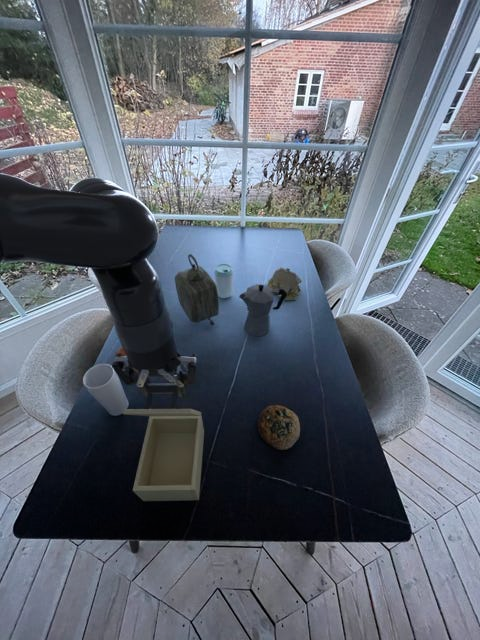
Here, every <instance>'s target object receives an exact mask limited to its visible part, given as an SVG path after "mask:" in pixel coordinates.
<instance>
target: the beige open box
mask: <svg viewBox="0 0 480 640" xmlns="http://www.w3.org/2000/svg"><path fill="white" fill-rule="evenodd" d="M148 417H149V418H148V422H147V426H146V430H145V435H144V439H143V443H142V448H141V452H140V455H139V456H140V457H139V460H138V466H137V469H136V475H135V479H134V484H133V488H132V492H133V493H134V494H135V495H136V496H138V498H139V499H140V500H141V501H143V502H172V501H173V502H175V501H176V502H177V501H200V493H201V492H200V490H201V477H202V467H203V453H204V440H205V428H204V421H203V415H201V416H148Z"/></svg>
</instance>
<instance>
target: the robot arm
mask: <svg viewBox="0 0 480 640" xmlns="http://www.w3.org/2000/svg"><path fill="white" fill-rule="evenodd" d="M159 232H160V231H159V225H158V223H157V220H156V218H155V216H154V214H153V213H152V212H151V211H150V209H149V208H148V207H147V206H146V205H145V204H144V202H142V201H141V200H140V199H138V198H137V197H136V196H134V195H132V194H131V193H129V192H128V191H127V190H125V189H123V188H122V187H121V186H119V185H118V184H116V183H115V182H112V181H110V180H108V179H105V178H100V177H87V178H83V179H81V180H79V181H77V182H76V183H74V184H73V185H72V186H71V188H70V189H69V190H64V189H55V188H48V187H43V186H38V185H36V184H33V183H30V182H29V181H26V180H25V179H23V178H20V177H17V176H15V175H10V174H6V173H3V172H0V264H3V262H4V264H9V263H19V262H35V263H41V264H42V263H43V264H48V265H56V266H65V267H75V268H86V269H90V270H91V271H92V272H93V274H94V276H95V278H96V281H97V283H98V285H99V287H100V291H101V293H102V296H103V299H104V302H105V304H106V306H107V309H108V312H109V314H110V316H111V319H112V322H113V323H112V324H113V326H114V331H115V334H116V336H117V338H118V340H119V342H120V344H121V346H122V347H123V349H124V352H125V354H126V356H124V355H123V354H121V353H117V352H116V353H117V355H116V354H115V355H116V357H115V356H114V359H113V362H112V364H111V366H112V368H113V369H114V370H115V372H116V373H117V374H118V377H119V379H120V380H122V381H123V382H124V384H125V385H127V386H132V385H133V384H135V385H136V387H138V388H139V390H140V393H141V394H143V395H144V396H145V397H146V398H147V396H148V394H147V385H148V384H152V382H151V380H150V378H151V377H152V378H153V377H164V378H165V379H166V380H167V381H168V382H169V383H175V384H176V385H177V386H176V388H177V391H178V394H177V396H178V398H179V397H180V398H182V397H184V395H186V394H187V390H188V389H187V388H188V386H193V385H194V384H195V377H196V370H197V364H198V354H197V353H190V356H182V354H181V353H180V352H179V351H178V349H177V343H176V339H175V333H174V328H173V327H174V326H173V321H172V319H171V317H170V316H171V315H170V312H169V309H168V307H167V305H166V301H165V296H164V292H163V287H162V284H161V283H162V282H161V281H160V278H159V275H158V272H156V270H155V268H154V267H153V266H152V264H151V263H150V261H149V260H148V259H147V258H148V257H150V255H151V254H152V253H153V252H154V251H155V249H156V247H157V245H158V242H159V235H160V233H159ZM181 365H182V366H183V368H184V369H185V371H184V370H183V369H182V368H181ZM133 368H135V369H137V370H138V371H139V372H138V373H136V371H135V370H134V369H133Z"/></svg>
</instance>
